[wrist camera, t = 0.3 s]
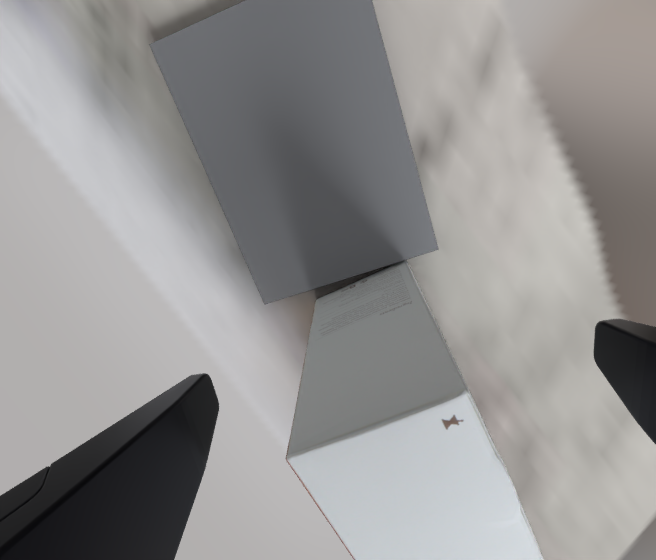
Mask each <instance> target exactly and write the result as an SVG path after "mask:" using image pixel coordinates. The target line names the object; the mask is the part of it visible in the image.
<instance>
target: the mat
mask: <svg viewBox="0 0 656 560" xmlns="http://www.w3.org/2000/svg"><path fill="white" fill-rule="evenodd" d="M149 45H150V47H151V49H152V52H153V54H154V56H155V59H156V61H157V63H158V65H159V68H160V70H161V72H162V74H163V77H164V79H165V81H166V83H167V86H168V88H169V90H170V92H171V95H172V97H173V99H174V101H175V104H176V106H177V108H178V110H179V113H180V115H181V117H182V119H183V122H184V124H185V126H186V128H187V131H188V133H189V135H190V137H191V140H192V142H193V144H194V146H195V149H196V151H197V153H198V155H199V158H200V160H201V162H202V164H203V167H204V169H205V171H206V173H207V176H208V178H209V180H210V182H211V185H212V187H213V189H214V191H215V194H216V196H217V198H218V201H219V203H220V205H221V207H222V210H223V212H224V214H225V216H226V219H227V221H228V223H229V225H230V228H231V230H232V232H233V234H234V237H235V239H236V241H237V243H238V246H239V248H240V250H241V252H242V255H243V257H244V259H245V261H246V264H247V266H248V268H249V270H250V273H251V275H252V277H253V279H254V282H255V284H256V286H257V288H258V291H259V293H260V295H261V297H262V300H263V302H264V304H268V303H271V302H274V301H277V300H280V299H284V298H287V297H290V296H293V295H296V294H299V293H303V292H306V291H309V290H312V289H315V288H318V287H321V286H325V285H328V284H331V283H334V282H337V281H340V280H344V279H347V278H350V277H353V276H356V275H359V274H363V273H366V272H369V271H372V270H375V269H378V268H381V267H385V266H388V265H391V264H394V263H397V262H400V261H404V260H407V259H410V258H413V257H416V256H419V255H422V254H426V253H429V252H432V251H435V250H438V245H437V242H436V238H435V234H434V231H433V227H432V223H431V219H430V216H429V212H428V208H427V204H426V201H425V197H424V193H423V189H422V186H421V182H420V178H419V175H418V171H417V167H416V163H415V160H414V156H413V152H412V148H411V145H410V141H409V137H408V134H407V130H406V126H405V122H404V119H403V115H402V111H401V107H400V104H399V100H398V96H397V93H396V89H395V85H394V81H393V78H392V74H391V70H390V66H389V63H388V59H387V55H386V51H385V48H384V44H383V40H382V37H381V33H380V29H379V25H378V22H377V18H376V14H375V10H374V7H373V3H372V0H245V1H243V2H241V3H238V4H236V5H234V6H232V7H230V8H228V9H225V10H223V11H221V12H219V13H217V14H215V15H212V16H210V17H208V18H206V19H204V20H201V21H199V22H197V23H195V24H193V25H191V26H188V27H186V28H184V29H182V30H180V31H178V32H175V33H173V34H171V35H169V36H167V37H164V38H162V39H160V40H158V41H156V42H154V43H151V44H149Z"/></svg>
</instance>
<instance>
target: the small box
mask: <svg viewBox="0 0 656 560" xmlns="http://www.w3.org/2000/svg"><path fill="white" fill-rule="evenodd" d="M286 460H287V462H288V463H289V465H290V466H291V468H292V469H293V471H294V472H295V474H296V475H297V477H298V478H299V480H300V481H301V482H302V484H303V485H304V487H305V488H306V490H307V491H308V493H309V494H310V496H311V497H312V498H313V500H314V502H315V503H316V505H317V506H318V508H319V509H320V511H321V512H322V513H323V515H324V516H325V518H326V519H327V520H328V522H329V524H330V525H331V526H332V528H333V529H334V531H335V532H336V534H337V535H338V537H339V538H340V540H341V541H342V543H343V544H344V545H345V547H346V549H347V550H348V552H349V553H350V555H351V556H352V557H353V559H354V560H543V556H542V553H541V550H540V548H539V545H538V543H537V540H536V538H535V536H534V533H533V531H532V529H531V526H530V524H529V521H528V519H527V517H526V514H525V512H524V509H523V507H522V505H521V502H520V500H519V497H518V495H517V492H516V490H515V487H514V485H513V482H512V480H511V478H510V476H509V473H508V471H507V469H506V466H505V464H504V462H503V460H502V458H501V457H500V455H499V453H498V451H497V449H496V447H495V445H494V442H493V440H492V438H491V436H490V434H489V432H488V430H487V427H486V425H485V423H484V421H483V419H482V417H481V415H480V412H479V410H478V408H477V406H476V404H475V402H474V400H473V397H472V395H471V393H470V391H469V389H468V387H467V385H466V383H465V381H464V378H463V376H462V374H461V372H460V370H459V368H458V366H457V364H456V362H455V360H454V358H453V356H452V354H451V352H450V349H449V347H448V345H447V343H446V341H445V339H444V337H443V335H442V333H441V331H440V329H439V327H438V325H437V322H436V320H435V318H434V316H433V314H432V312H431V310H430V308H429V306H428V303H427V301H426V299H425V297H424V295H423V293H422V291H421V289H420V287H419V285H418V282H417V280H416V278H415V276H414V274H413V272H412V270H411V268H410V266H409V264H408V263H407V261H406V260H404V261H401V262H399V263H397V264H395V265H392V266H390V267H388V268H386V269H383V270H381V271H379V272H377V273H374V274H372V275H370V276H368V277H365V278H363V279H361V280H359V281H357V282H354V283H352V284H350V285H348V286H346V287H343V288H341V289H339V290H337V291H334V292H332V293H330V294H328V295H325V296H323V297H321V298H318V299H317V300H316V301H315V307H314V312H313V318H312V323H311V328H310V334H309V339H308V344H307V350H306V355H305V360H304V365H303V371H302V376H301V381H300V387H299V392H298V398H297V403H296V409H295V414H294V419H293V424H292V430H291V435H290V440H289V445H288V450H287V455H286Z"/></svg>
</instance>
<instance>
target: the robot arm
mask: <svg viewBox="0 0 656 560" xmlns="http://www.w3.org/2000/svg"><path fill="white" fill-rule="evenodd" d="M594 359H595V362H596V364H597V366H598V367H599V369H600V370H601V372H602V373H603V375H604V376H605V377H606V379H607V380H608V382H609V383H610V385H611V386H612V387H613V389H614V390H615V392H616V393H617V395H618V396H619V397H620V399H621V400H622V402H623V403H624V405H625V406H626V408H627V409H628V410H629V412H630V413H631V415H632V416H633V417H634V419H635V420H636V421H637V423H638V424H639V425H640V426H641V428H642V429H643V430H644V431H645V432H646V434H647V435H648V436H649V437H650V438H651V440H652V441H653V442H654V443H655V444H656V327H653V326H649V325H645V324H641V323H636V322H632V321H628V320H623V319H611V320H603V321H599V322H598V323H597V324H596V327H595V339H594ZM218 411H219V403H218V398H217V396H216V393H215V389H214V386H213V383H212V380H211V378H210V376H209V375H208V374H196V375H191V376H189V377H188V378H186V379H184V380H183V381H181V382H180V383H178V384H176V385H175V386H173V387H172V388H170V389H169V390H167V391H165V392H164V393H162V394H161V395H159V396H157V397H156V398H154V399H153V400H151V401H150V402H148V403H146V404H145V405H143V406H142V407H141V408H139V409H137V410H135V411H134V412H132V413H131V414H129V415H128V416H126V417H124V418H123V419H121V420H120V421H118V422H117V423H115V424H113V425H112V426H110V427H109V428H107V429H106V430H104V431H102V432H101V433H99V434H98V435H96V436H95V437H93V438H91V439H90V440H88V441H87V442H85V443H84V444H82V445H80V446H79V447H77V448H76V449H74V450H73V451H71V452H69V453H68V454H66V455H65V456H63V457H61V458H60V459H58V460H57V461H55V462H54V463H52V464H51V466H50V467H46V468H44V469H42V470H41V471H39V472H38V473H36V474H35V475H33V476H32V477H30V478H28V479H27V480H25V481H23V482H22V483H20V484H19V485H17V486H15V487H14V488H12V489H11V490H9V491H7V492H6V493H4V494H2V495H1V496H0V560H174V558H175V555H176V553H177V550H178V547H179V544H180V541H181V538H182V535H183V532H184V529H185V526H186V523H187V521H188V517H189V515H190V512H191V509H192V506H193V503H194V500H195V497H196V494H197V491H198V489H199V486H200V483H201V480H202V477H203V474H204V471H205V467H206V463H207V460H208V455H209V451H210V446H211V442H212V438H213V433H214V429H215V425H216V420H217V416H218Z"/></svg>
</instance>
